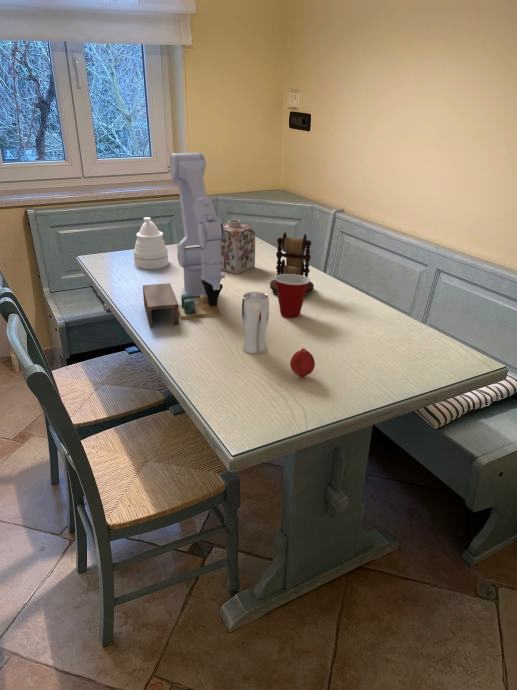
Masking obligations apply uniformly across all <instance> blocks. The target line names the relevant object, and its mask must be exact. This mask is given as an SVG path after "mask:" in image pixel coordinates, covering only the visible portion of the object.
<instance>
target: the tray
mask: <svg viewBox="0 0 517 690" xmlns="http://www.w3.org/2000/svg"><path fill="white" fill-rule="evenodd" d="M180 297H181V298H180V299H181V304H178V305H179V307H178V311H179V318H180V319H181V320H187V319H197V318H206V317H215V316H216V317H217V316H221V315H222V313H221V311H220V309H219V304H218V303H219V302H217V305H216V306H210V305H209V302H208V296H207V295H200V296H199V297H200V302H196V301H195V299H194V298H193V297H192V295H191V294H184V293H183V294H181V295H180ZM195 302H196V303H195Z"/></svg>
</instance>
